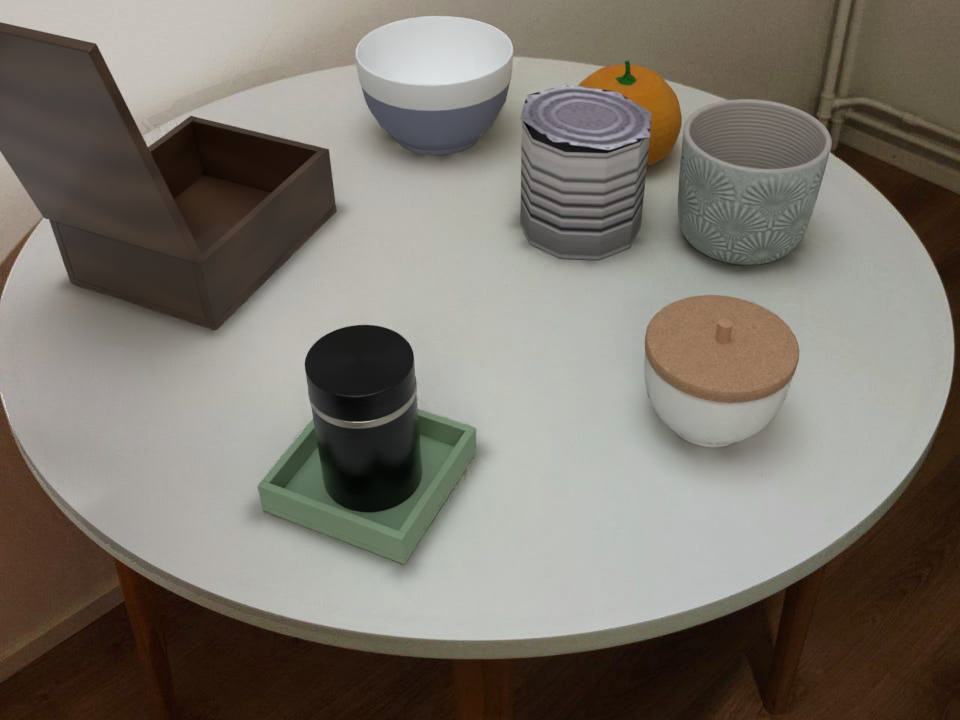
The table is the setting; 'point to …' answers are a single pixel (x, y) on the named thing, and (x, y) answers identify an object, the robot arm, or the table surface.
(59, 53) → the lid
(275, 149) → the chest
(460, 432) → the tray
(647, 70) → the fruit
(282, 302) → the table surface
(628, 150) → the can
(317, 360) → the black canister
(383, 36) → the bowl
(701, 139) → the planter
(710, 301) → the trinket box
